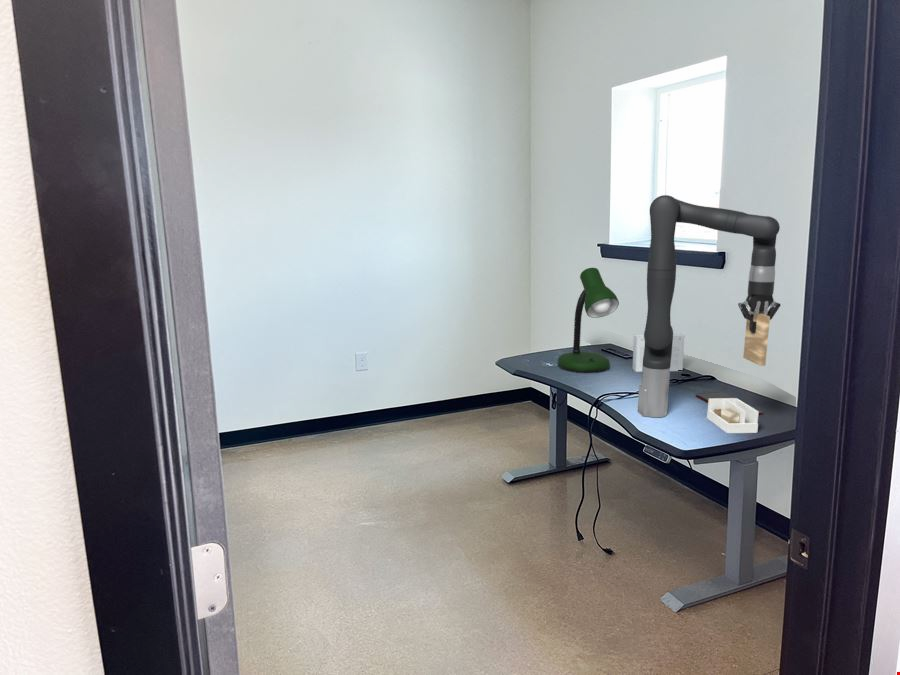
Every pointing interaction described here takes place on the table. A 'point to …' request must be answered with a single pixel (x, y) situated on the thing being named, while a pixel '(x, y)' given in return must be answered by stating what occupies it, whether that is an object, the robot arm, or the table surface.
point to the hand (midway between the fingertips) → (756, 332)
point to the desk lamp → (596, 305)
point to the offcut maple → (730, 415)
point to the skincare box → (675, 358)
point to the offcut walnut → (717, 412)
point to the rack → (747, 413)
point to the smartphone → (708, 396)
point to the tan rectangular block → (757, 340)
